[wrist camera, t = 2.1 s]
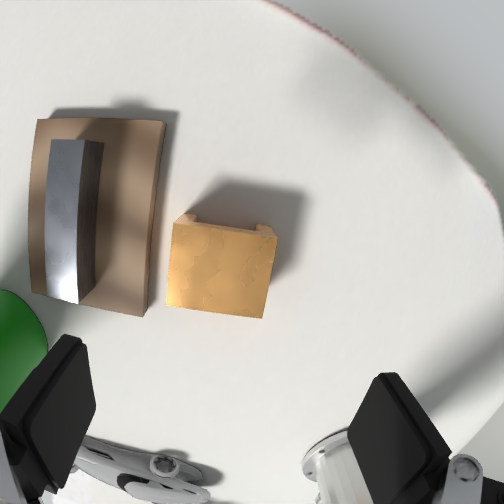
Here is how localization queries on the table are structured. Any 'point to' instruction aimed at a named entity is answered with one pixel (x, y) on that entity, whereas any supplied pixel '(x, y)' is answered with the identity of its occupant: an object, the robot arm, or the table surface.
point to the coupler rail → (71, 217)
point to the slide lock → (220, 267)
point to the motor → (18, 344)
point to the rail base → (105, 206)
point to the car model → (141, 473)
